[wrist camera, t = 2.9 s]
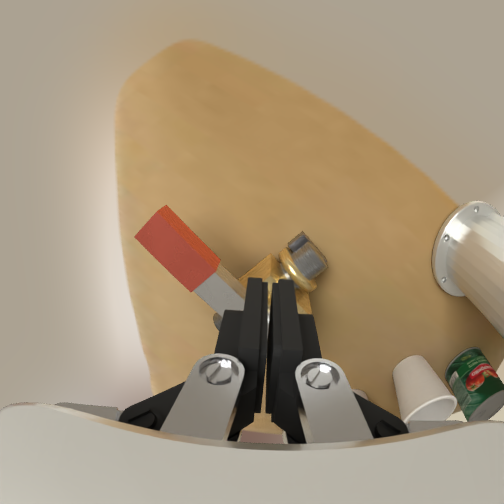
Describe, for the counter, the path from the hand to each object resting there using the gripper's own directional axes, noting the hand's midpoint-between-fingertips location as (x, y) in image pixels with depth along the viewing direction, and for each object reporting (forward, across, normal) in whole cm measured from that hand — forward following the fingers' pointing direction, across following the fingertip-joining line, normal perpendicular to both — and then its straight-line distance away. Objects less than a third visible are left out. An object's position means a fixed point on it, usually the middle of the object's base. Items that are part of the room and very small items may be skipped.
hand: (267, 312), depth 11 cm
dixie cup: (+20, -23, +23) cm, 38 cm away
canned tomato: (+19, -35, +24) cm, 47 cm away
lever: (+11, +3, +5) cm, 13 cm away
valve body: (+20, -1, +9) cm, 22 cm away
